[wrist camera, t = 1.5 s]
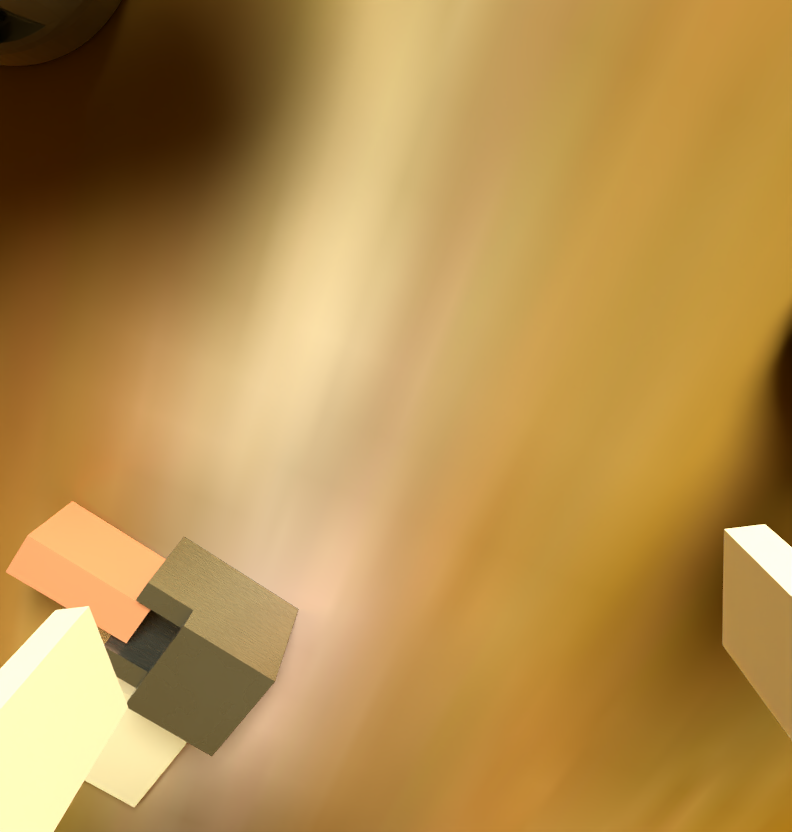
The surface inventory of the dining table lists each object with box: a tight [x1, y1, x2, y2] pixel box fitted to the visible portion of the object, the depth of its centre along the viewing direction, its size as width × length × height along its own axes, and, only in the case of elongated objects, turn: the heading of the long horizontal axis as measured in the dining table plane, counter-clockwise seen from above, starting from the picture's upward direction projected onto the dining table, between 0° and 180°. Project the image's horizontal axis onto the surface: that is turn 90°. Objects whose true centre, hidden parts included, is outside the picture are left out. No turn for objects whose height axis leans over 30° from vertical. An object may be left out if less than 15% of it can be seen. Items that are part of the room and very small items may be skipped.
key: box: [6, 501, 166, 643], centre depth 36 cm, size 8×3×4 cm, turn 53°
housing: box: [104, 537, 298, 756], centre depth 36 cm, size 9×7×7 cm
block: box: [85, 677, 187, 807], centre depth 42 cm, size 12×9×2 cm
